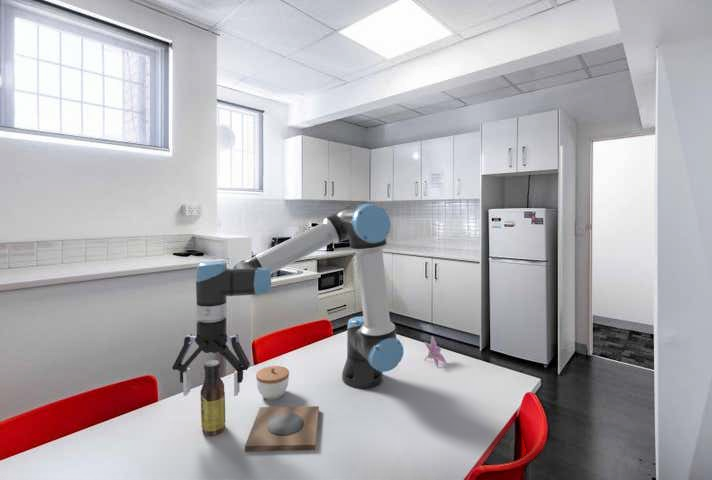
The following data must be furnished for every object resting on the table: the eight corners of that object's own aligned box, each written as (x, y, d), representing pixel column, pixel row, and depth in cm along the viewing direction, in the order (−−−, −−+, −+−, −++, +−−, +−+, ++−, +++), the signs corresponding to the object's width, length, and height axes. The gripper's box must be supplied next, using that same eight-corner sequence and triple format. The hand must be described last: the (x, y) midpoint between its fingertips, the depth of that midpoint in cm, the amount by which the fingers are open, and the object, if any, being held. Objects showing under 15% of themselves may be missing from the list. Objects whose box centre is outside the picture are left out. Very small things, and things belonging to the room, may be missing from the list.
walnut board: (318, 410, 109) (319, 405, 109) (315, 450, 91) (315, 443, 91) (260, 411, 108) (260, 406, 108) (244, 451, 90) (244, 444, 90)
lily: (422, 372, 139) (435, 354, 137) (409, 350, 149) (421, 333, 146) (444, 375, 145) (456, 358, 142) (430, 354, 155) (441, 337, 152)
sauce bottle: (206, 423, 102) (204, 357, 100) (228, 423, 102) (227, 356, 101) (197, 438, 95) (196, 367, 94) (221, 437, 96) (220, 366, 94)
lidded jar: (281, 405, 112) (281, 377, 111) (250, 401, 114) (250, 373, 114) (293, 388, 123) (293, 362, 122) (265, 385, 125) (265, 359, 124)
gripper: (157, 322, 92) (159, 400, 93) (254, 323, 93) (254, 400, 95) (171, 314, 99) (172, 386, 101) (260, 315, 101) (260, 386, 102)
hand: (212, 393), depth 98 cm, fingers open, 13 cm apart
